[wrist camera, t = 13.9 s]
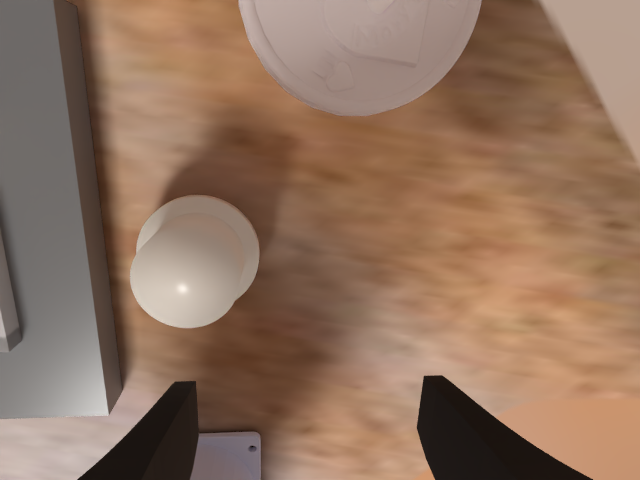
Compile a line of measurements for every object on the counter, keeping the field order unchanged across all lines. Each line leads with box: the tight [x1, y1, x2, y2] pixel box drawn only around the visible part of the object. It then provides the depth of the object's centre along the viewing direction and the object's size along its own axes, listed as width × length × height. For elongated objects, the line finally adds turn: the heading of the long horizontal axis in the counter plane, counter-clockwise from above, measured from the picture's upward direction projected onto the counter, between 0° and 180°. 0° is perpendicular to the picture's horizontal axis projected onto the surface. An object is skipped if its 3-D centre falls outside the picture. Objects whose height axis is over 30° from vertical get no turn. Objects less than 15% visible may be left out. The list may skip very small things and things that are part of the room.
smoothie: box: [239, 0, 482, 116], centre depth 13 cm, size 6×6×14 cm
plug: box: [130, 195, 260, 328], centre depth 19 cm, size 6×6×5 cm
